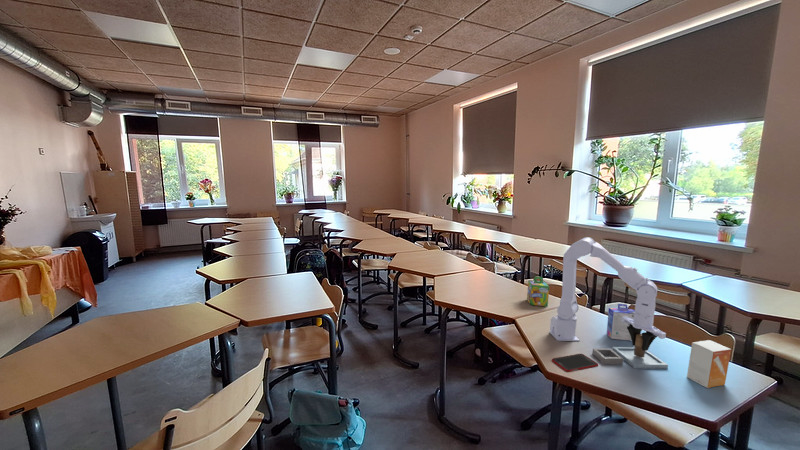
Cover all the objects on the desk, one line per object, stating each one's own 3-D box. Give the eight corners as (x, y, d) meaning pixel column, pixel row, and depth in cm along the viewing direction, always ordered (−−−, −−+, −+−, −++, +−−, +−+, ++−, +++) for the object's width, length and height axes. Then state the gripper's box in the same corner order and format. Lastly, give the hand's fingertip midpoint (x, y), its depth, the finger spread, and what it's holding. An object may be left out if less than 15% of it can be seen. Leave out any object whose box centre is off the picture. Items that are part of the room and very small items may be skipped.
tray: (634, 368, 113) (634, 364, 113) (612, 350, 125) (612, 346, 125) (667, 368, 113) (668, 364, 113) (642, 350, 125) (642, 347, 125)
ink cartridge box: (630, 335, 138) (633, 304, 136) (636, 341, 132) (640, 309, 130) (605, 333, 140) (608, 302, 138) (610, 339, 134) (614, 307, 132)
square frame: (603, 363, 116) (604, 358, 115) (592, 353, 123) (592, 348, 122) (622, 364, 116) (623, 358, 115) (610, 353, 123) (610, 348, 122)
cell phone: (599, 366, 115) (599, 364, 115) (566, 373, 111) (566, 370, 110) (581, 355, 122) (581, 353, 122) (550, 361, 118) (550, 358, 118)
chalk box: (530, 305, 170) (532, 279, 168) (526, 299, 179) (528, 274, 177) (548, 306, 168) (550, 280, 166) (543, 300, 177) (545, 275, 175)
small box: (707, 388, 102) (713, 351, 100) (686, 377, 108) (691, 341, 107) (725, 385, 104) (732, 348, 102) (703, 374, 110) (709, 339, 108)
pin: (640, 358, 117) (642, 337, 116) (631, 353, 120) (634, 333, 119) (646, 356, 118) (648, 336, 117) (637, 352, 121) (640, 332, 120)
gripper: (617, 307, 122) (613, 339, 124) (657, 323, 109) (653, 359, 110) (630, 305, 124) (626, 337, 126) (671, 320, 111) (666, 356, 113)
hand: (640, 347), depth 118 cm, fingers closed on pin, 3 cm apart
